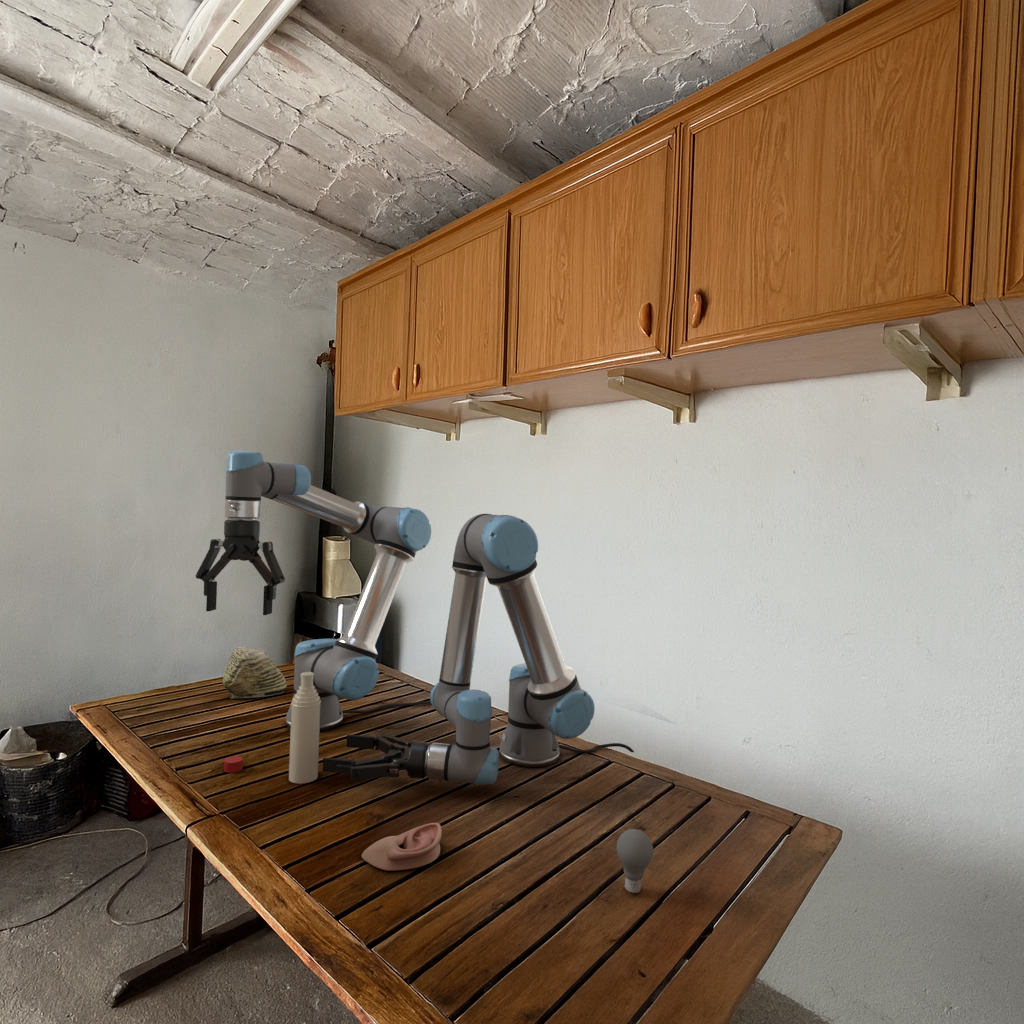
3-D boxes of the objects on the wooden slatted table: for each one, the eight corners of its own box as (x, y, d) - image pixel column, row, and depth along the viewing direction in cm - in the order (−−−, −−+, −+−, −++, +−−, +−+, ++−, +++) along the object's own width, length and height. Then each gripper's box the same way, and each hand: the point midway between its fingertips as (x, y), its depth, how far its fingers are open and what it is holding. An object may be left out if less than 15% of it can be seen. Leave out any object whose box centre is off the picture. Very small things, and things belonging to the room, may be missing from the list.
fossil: (218, 695, 195) (220, 647, 195) (278, 685, 208) (279, 640, 207) (228, 703, 189) (230, 653, 188) (289, 692, 201) (290, 645, 201)
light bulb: (610, 879, 108) (613, 822, 108) (644, 879, 109) (647, 822, 109) (619, 902, 102) (622, 840, 102) (655, 901, 103) (658, 840, 103)
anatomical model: (354, 842, 109) (381, 811, 120) (353, 865, 109) (380, 831, 121) (427, 854, 107) (448, 821, 118) (426, 877, 107) (447, 842, 118)
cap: (233, 774, 142) (233, 764, 142) (220, 770, 144) (220, 760, 144) (246, 767, 146) (246, 757, 146) (233, 764, 148) (233, 754, 147)
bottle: (282, 778, 142) (286, 673, 141) (305, 769, 147) (309, 668, 146) (300, 786, 138) (304, 679, 138) (323, 776, 143) (327, 673, 143)
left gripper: (180, 517, 142) (177, 611, 142) (287, 522, 139) (283, 618, 139) (201, 516, 149) (197, 606, 150) (302, 521, 146) (298, 612, 147)
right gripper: (412, 804, 127) (311, 793, 129) (440, 755, 152) (355, 747, 154) (413, 767, 127) (312, 757, 129) (441, 724, 152) (356, 716, 154)
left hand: (239, 612), depth 144 cm, fingers open, 13 cm apart
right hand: (335, 751), depth 142 cm, fingers open, 13 cm apart
